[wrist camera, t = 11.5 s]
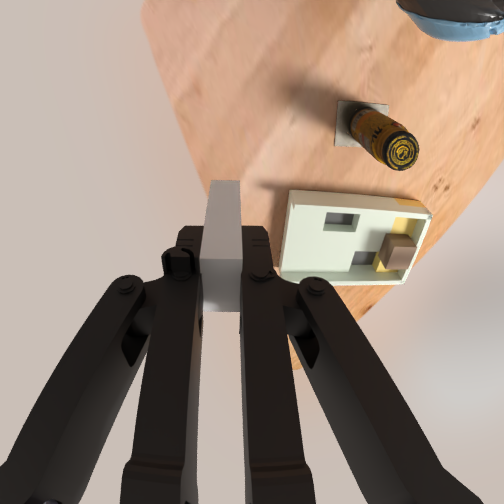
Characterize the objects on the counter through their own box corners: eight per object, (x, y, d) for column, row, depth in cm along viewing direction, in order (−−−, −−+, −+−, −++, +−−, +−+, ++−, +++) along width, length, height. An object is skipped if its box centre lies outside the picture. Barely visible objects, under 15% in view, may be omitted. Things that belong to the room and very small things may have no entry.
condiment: (383, 148, 44) (419, 179, 35) (334, 145, 44) (362, 177, 35) (388, 105, 40) (429, 126, 30) (337, 100, 40) (369, 118, 30)
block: (385, 233, 51) (394, 246, 48) (408, 234, 52) (417, 247, 49) (377, 255, 54) (385, 269, 51) (399, 256, 55) (407, 269, 52)
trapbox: (289, 189, 48) (294, 204, 44) (419, 200, 50) (432, 215, 46) (278, 267, 58) (281, 285, 54) (394, 268, 60) (403, 284, 56)
